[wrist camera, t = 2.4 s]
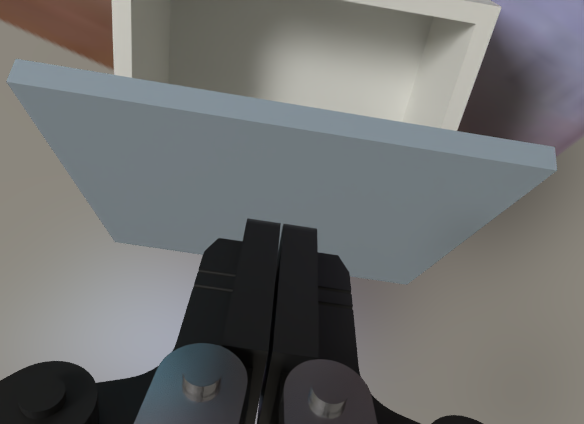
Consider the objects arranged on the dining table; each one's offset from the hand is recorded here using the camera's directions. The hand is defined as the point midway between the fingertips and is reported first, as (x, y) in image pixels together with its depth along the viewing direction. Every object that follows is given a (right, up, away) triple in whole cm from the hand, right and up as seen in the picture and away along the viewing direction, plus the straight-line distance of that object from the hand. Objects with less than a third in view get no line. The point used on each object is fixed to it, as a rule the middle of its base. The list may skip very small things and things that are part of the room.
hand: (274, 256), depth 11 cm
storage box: (0, +9, +20) cm, 22 cm away
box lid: (0, +2, +10) cm, 10 cm away
